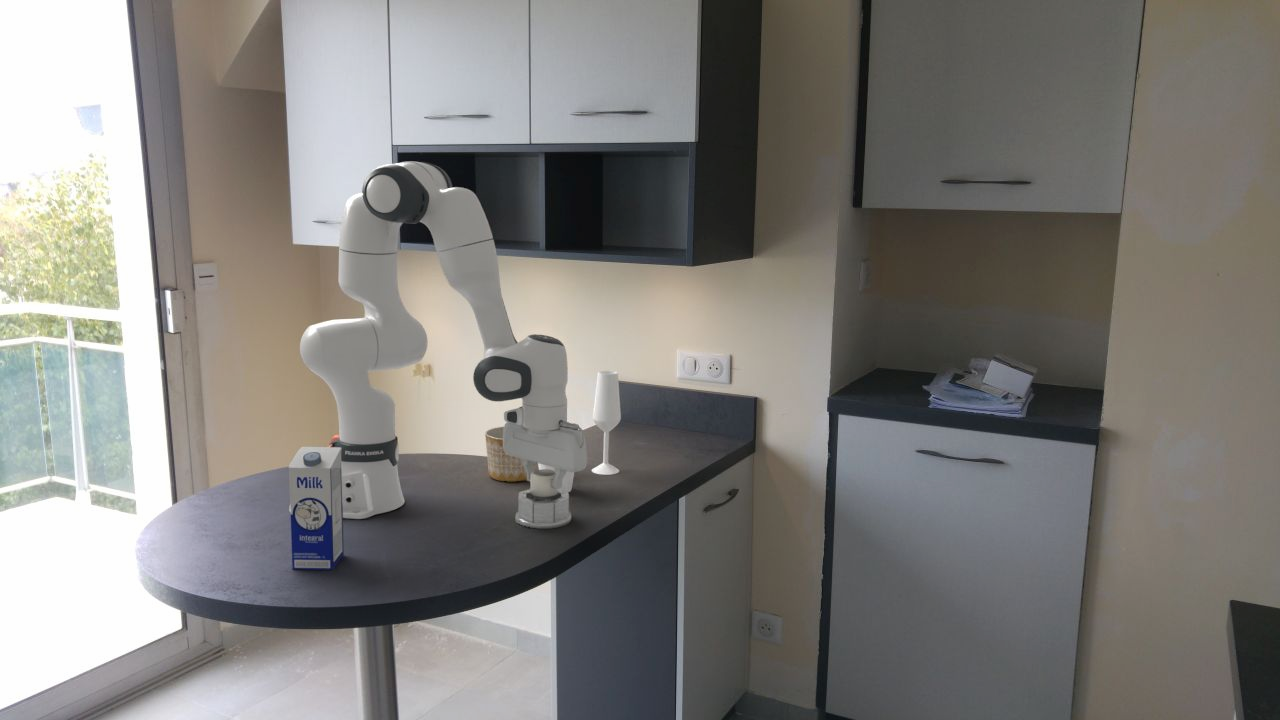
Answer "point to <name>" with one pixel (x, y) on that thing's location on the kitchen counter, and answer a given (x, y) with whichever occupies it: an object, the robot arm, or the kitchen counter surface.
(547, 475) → the cap
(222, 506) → the kitchen counter surface
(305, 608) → the kitchen counter surface
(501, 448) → the planter
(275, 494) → the kitchen counter surface
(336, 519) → the milk carton
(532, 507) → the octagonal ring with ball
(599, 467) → the champagne flute
